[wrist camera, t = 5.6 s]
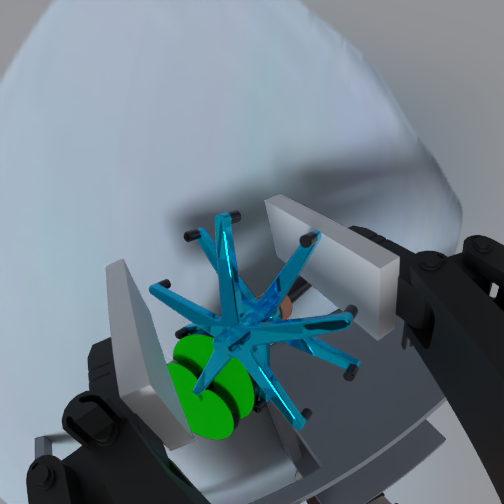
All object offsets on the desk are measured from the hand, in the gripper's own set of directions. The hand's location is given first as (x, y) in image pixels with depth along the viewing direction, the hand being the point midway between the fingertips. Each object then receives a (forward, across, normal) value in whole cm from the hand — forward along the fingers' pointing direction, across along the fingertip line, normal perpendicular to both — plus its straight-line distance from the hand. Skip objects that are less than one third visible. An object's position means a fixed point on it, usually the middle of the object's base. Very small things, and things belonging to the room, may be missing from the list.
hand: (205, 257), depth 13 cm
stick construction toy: (0, 0, -4) cm, 4 cm away
